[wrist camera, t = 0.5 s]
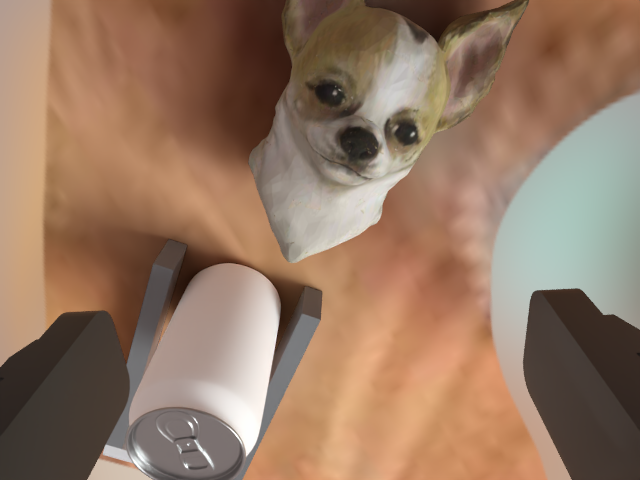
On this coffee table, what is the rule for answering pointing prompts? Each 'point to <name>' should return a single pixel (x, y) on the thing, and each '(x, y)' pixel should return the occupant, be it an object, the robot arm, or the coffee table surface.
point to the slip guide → (152, 325)
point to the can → (207, 379)
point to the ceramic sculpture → (364, 111)
